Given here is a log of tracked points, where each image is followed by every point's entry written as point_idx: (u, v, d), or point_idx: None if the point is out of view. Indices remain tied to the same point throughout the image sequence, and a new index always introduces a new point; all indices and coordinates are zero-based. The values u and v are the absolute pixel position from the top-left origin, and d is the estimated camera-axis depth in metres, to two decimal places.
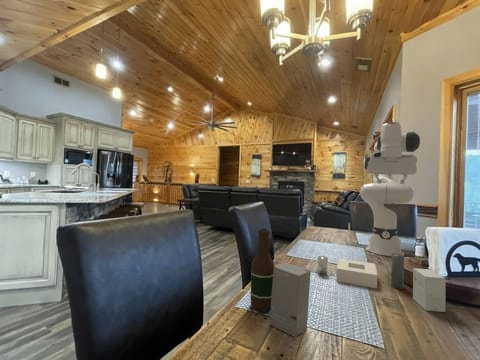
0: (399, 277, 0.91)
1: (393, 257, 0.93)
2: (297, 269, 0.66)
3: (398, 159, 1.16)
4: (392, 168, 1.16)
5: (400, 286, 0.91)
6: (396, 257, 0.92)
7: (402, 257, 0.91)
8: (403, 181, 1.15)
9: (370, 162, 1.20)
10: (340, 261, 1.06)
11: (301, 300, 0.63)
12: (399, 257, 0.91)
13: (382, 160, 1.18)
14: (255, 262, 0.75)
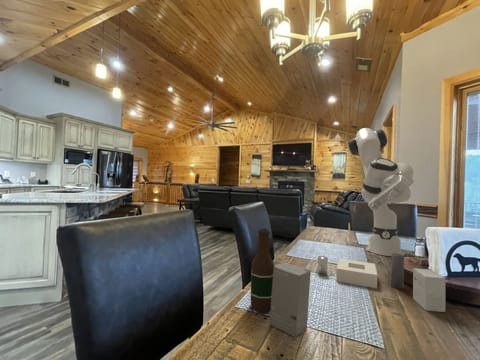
0: (399, 277, 0.91)
1: (393, 257, 0.93)
2: (297, 269, 0.66)
3: None
4: None
5: (400, 286, 0.91)
6: (396, 257, 0.92)
7: (402, 257, 0.91)
8: (375, 209, 1.05)
9: (410, 184, 0.99)
10: (340, 261, 1.06)
11: (301, 300, 0.63)
12: (399, 257, 0.91)
13: None
14: (255, 262, 0.75)
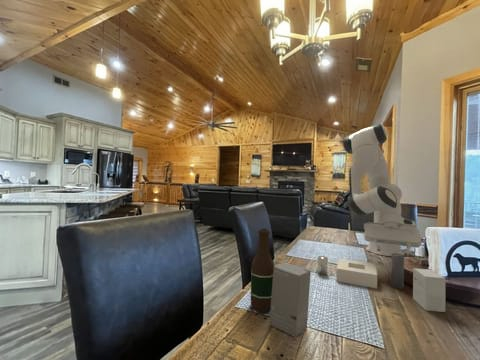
0: (399, 277, 0.91)
1: (393, 257, 0.93)
2: (297, 269, 0.66)
3: None
4: None
5: (400, 286, 0.91)
6: (396, 257, 0.92)
7: (402, 257, 0.91)
8: None
9: None
10: (340, 261, 1.06)
11: (301, 300, 0.63)
12: (399, 257, 0.91)
13: None
14: (255, 262, 0.75)
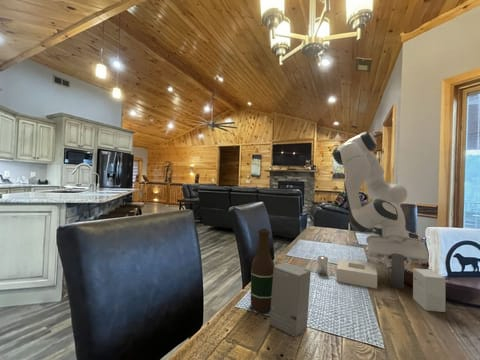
0: (399, 277, 0.91)
1: (393, 257, 0.93)
2: (297, 269, 0.66)
3: None
4: None
5: (400, 286, 0.91)
6: (396, 257, 0.92)
7: (402, 257, 0.91)
8: None
9: None
10: (340, 261, 1.06)
11: (301, 300, 0.63)
12: (399, 257, 0.91)
13: None
14: (255, 262, 0.75)
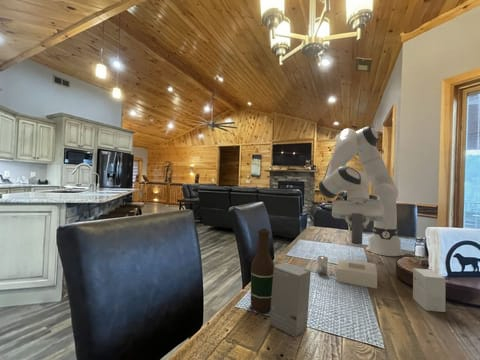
0: (358, 233, 0.99)
1: (353, 215, 1.00)
2: (297, 269, 0.66)
3: None
4: None
5: (359, 242, 0.99)
6: (355, 215, 0.99)
7: (360, 215, 0.99)
8: None
9: None
10: (340, 261, 1.06)
11: (301, 300, 0.63)
12: (358, 215, 0.99)
13: None
14: (255, 262, 0.75)
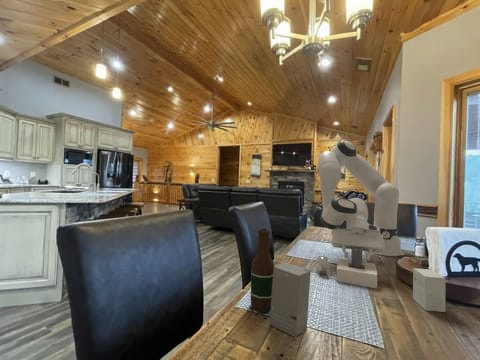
0: None
1: (352, 251, 1.00)
2: (297, 269, 0.66)
3: None
4: None
5: None
6: (354, 251, 0.99)
7: (360, 251, 0.99)
8: None
9: None
10: (340, 261, 1.06)
11: (301, 300, 0.63)
12: (357, 251, 0.99)
13: None
14: (255, 262, 0.75)
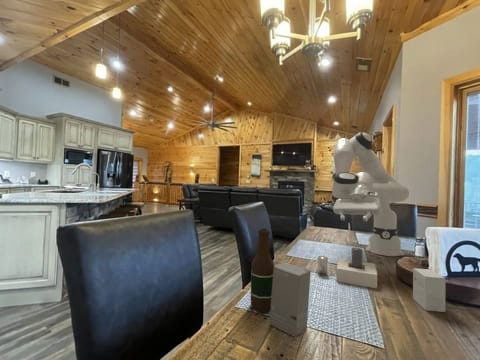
0: None
1: (352, 251, 1.00)
2: (297, 269, 0.66)
3: None
4: None
5: None
6: (355, 251, 0.99)
7: (360, 251, 0.99)
8: None
9: None
10: (340, 261, 1.06)
11: (301, 300, 0.63)
12: (357, 251, 0.99)
13: None
14: (255, 262, 0.75)
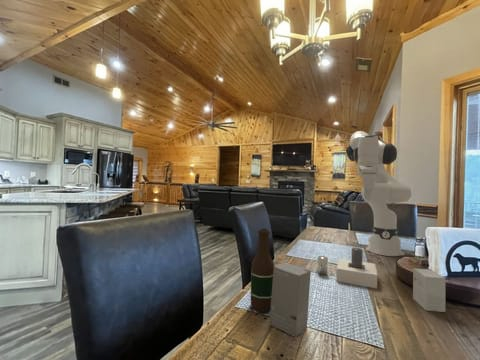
0: None
1: (352, 251, 1.00)
2: (297, 269, 0.66)
3: None
4: None
5: None
6: (355, 251, 0.99)
7: (360, 251, 0.99)
8: None
9: (374, 178, 1.04)
10: (340, 261, 1.06)
11: (301, 300, 0.63)
12: (357, 251, 0.99)
13: None
14: (255, 262, 0.75)
